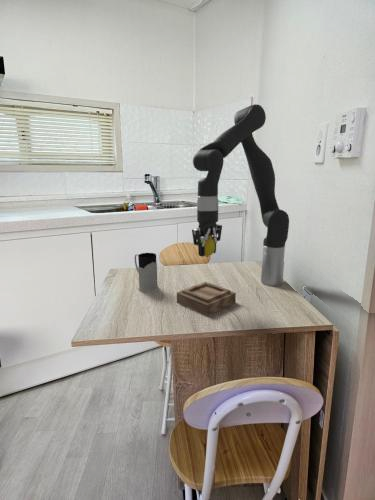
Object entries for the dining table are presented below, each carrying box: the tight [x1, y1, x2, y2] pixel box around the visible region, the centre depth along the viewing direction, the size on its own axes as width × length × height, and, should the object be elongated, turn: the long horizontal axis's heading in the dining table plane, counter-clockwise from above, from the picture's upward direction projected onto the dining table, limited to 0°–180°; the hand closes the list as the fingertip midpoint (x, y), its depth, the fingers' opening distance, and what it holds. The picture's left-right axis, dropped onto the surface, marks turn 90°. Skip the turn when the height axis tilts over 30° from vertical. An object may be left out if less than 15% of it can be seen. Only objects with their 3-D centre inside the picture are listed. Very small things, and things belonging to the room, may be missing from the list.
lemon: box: [201, 237, 215, 258], centre depth 114 cm, size 6×6×8 cm
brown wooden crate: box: [176, 281, 237, 316], centre depth 119 cm, size 16×16×5 cm
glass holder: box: [134, 252, 159, 293], centre depth 134 cm, size 9×14×15 cm, turn 41°
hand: (207, 254), depth 114 cm, fingers closed on lemon, 5 cm apart
